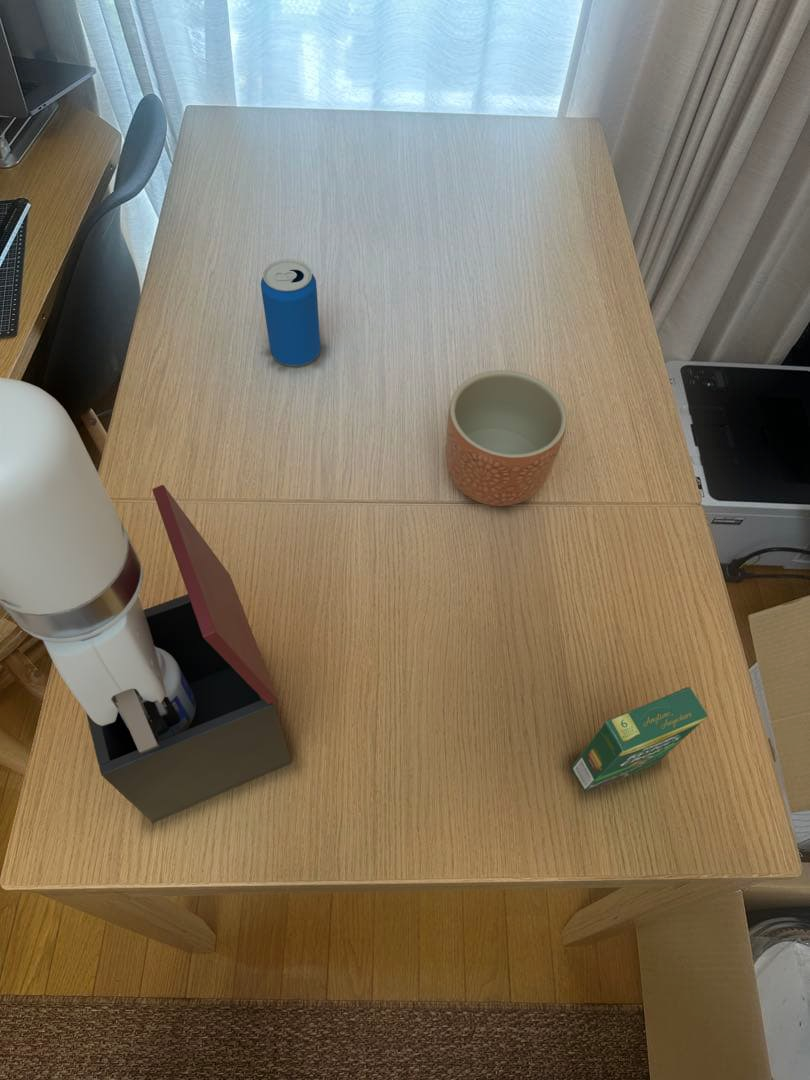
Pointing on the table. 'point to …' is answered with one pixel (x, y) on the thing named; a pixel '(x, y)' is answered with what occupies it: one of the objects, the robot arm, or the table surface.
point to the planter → (503, 436)
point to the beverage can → (291, 312)
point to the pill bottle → (176, 692)
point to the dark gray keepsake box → (193, 729)
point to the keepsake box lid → (214, 597)
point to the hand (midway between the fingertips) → (148, 690)
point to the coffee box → (638, 739)
